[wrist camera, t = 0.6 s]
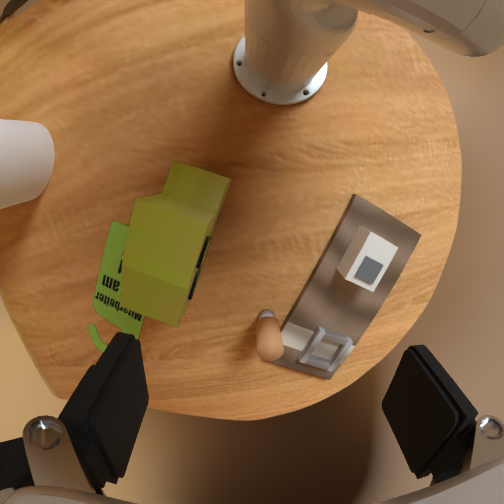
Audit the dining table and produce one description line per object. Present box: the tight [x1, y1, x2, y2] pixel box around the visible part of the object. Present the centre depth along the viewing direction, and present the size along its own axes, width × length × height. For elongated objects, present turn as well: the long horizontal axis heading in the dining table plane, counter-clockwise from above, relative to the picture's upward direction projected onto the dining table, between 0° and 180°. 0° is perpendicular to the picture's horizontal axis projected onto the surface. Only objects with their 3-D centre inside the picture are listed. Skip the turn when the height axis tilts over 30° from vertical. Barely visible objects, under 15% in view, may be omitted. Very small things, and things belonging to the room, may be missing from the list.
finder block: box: [337, 225, 398, 292], centre depth 38 cm, size 7×5×4 cm
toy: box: [121, 161, 232, 328], centre depth 30 cm, size 16×6×20 cm, turn 160°
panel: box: [269, 194, 421, 380], centre depth 42 cm, size 29×13×3 cm, turn 155°
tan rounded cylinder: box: [256, 309, 284, 361], centre depth 40 cm, size 3×3×9 cm
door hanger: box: [88, 221, 145, 353], centre depth 43 cm, size 9×1×25 cm
